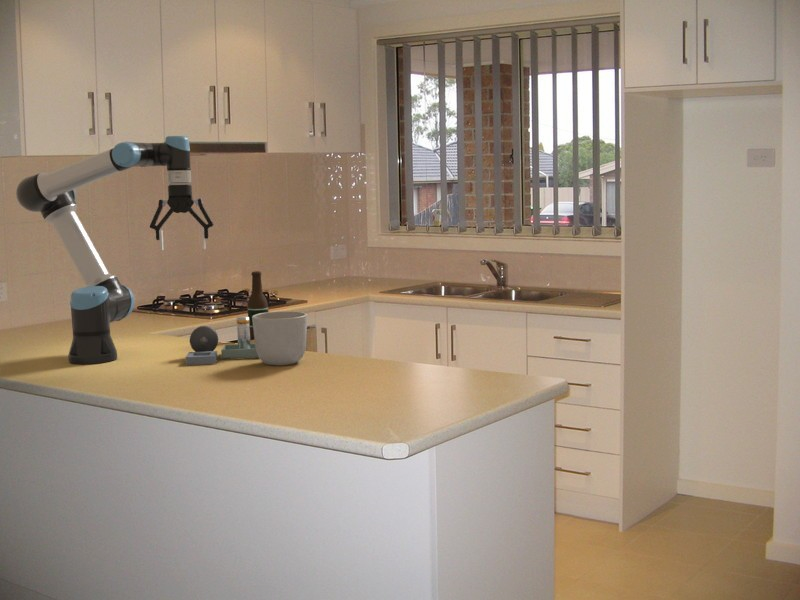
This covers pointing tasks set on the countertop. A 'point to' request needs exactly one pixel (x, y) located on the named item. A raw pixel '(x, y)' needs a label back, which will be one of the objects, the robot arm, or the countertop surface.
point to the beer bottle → (256, 300)
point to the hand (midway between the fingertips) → (183, 249)
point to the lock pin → (243, 332)
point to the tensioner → (203, 346)
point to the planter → (280, 336)
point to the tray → (238, 352)
